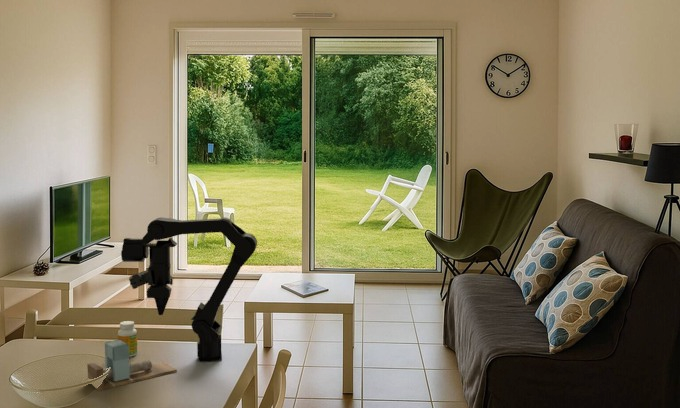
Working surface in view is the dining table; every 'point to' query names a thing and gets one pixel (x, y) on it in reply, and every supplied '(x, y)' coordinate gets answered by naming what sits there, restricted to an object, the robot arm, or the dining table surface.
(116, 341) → the light blue upright block
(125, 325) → the supplement bottle
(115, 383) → the pipe rig
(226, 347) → the dining table surface
